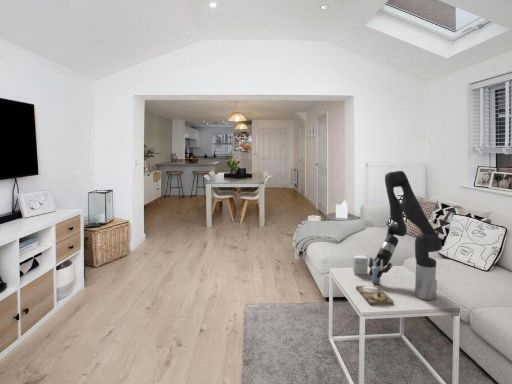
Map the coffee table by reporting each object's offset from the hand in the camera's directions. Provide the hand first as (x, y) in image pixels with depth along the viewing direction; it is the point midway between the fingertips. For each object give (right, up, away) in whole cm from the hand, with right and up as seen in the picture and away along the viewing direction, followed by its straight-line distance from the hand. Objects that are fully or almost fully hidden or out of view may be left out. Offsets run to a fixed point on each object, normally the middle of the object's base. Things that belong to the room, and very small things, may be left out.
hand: (374, 276), depth 189 cm
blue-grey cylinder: (+1, -4, +2) cm, 5 cm away
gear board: (-6, -7, -15) cm, 17 cm away
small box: (-2, -3, +19) cm, 20 cm away
